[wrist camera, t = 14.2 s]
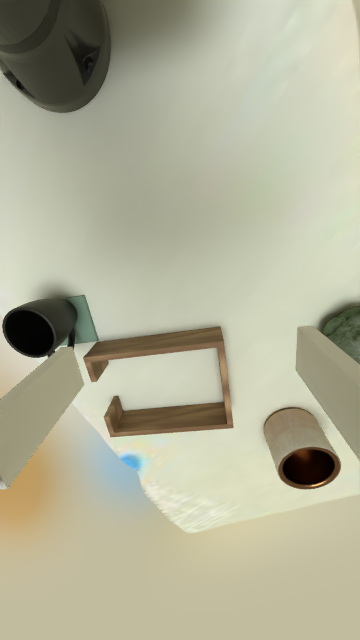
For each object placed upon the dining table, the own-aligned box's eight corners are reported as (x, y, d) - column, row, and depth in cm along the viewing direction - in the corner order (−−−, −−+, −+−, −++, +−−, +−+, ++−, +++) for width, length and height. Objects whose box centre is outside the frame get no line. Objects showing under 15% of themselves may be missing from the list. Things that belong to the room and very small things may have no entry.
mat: (39, 302, 44) (37, 303, 44) (84, 295, 43) (83, 296, 42) (55, 345, 47) (54, 346, 47) (98, 339, 46) (97, 341, 46)
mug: (66, 354, 47) (36, 383, 38) (32, 300, 43) (-10, 318, 35) (102, 342, 46) (79, 369, 37) (70, 284, 42) (35, 299, 33)
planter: (263, 407, 49) (277, 446, 40) (318, 405, 48) (345, 445, 39) (262, 446, 53) (276, 490, 44) (313, 445, 52) (338, 490, 43)
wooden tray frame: (96, 342, 46) (83, 357, 41) (220, 326, 43) (223, 340, 38) (119, 415, 52) (110, 437, 47) (229, 405, 50) (233, 428, 44)
